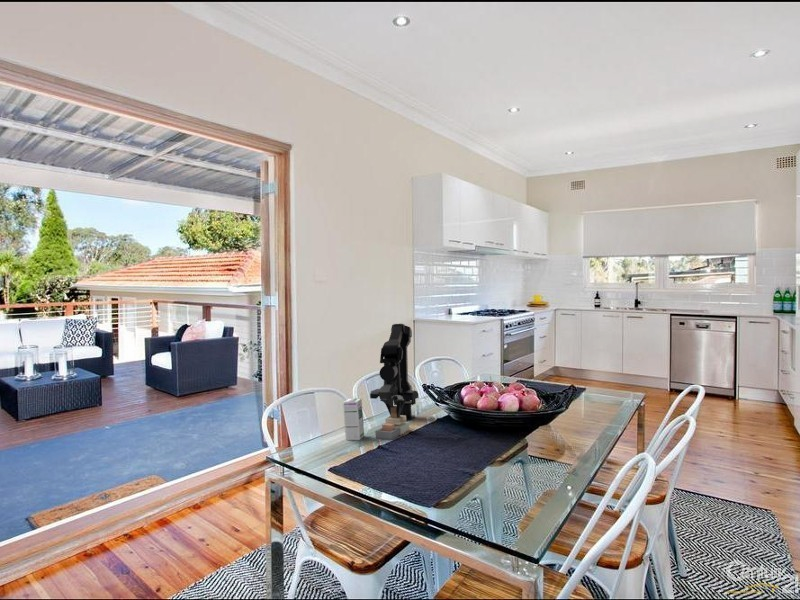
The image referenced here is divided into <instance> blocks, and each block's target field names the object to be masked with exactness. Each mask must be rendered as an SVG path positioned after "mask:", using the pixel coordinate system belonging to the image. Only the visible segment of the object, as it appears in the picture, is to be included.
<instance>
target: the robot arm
mask: <svg viewBox="0 0 800 600" xmlns="http://www.w3.org/2000/svg"><path fill="white" fill-rule="evenodd" d="M390 332H391V333H390V335H389V338H388V340H387V341H385V342H384V343H383V345H382V347H381V349H380V358H379V359H380V360H379V364H383V366H382V367H381V368H380V371H379V377H380V378H381V379H382V380H383V385H382V386H381V387H380V388H376V389H373V390H371V391H370V394H369V398H370V399H373V400H377V399H378V398H379V401H380V402H382V403H384V405H385V406H386V409H387V411H388V413H389V416H391V409H390V408H391V407H393V406H397V417H399V416H400V415H404V416H406V421H410V420H411V419H413V417H414V418H415V417H416V415H412V406H414V405H416V403H417V402H416V399H419V393H418V391H417V390H413V389H412V388H413V387H412V385H411V384H410V382H409V373H408V372H409V371H408V370H409V369H408V368H409V365H408V364H409V363H408V362H409V359H408V347H409V345H410V344H411V341H412V340H411V339H412V337H413V331H412V328H411V327H410V326H408V325H405V324H404V323H393V324H392V325H391V329H390Z"/></svg>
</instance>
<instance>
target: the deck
mask: <svg viewBox="0 0 800 600" xmlns="http://www.w3.org/2000/svg"><path fill="white" fill-rule="evenodd" d="M398 427H399V428H400V432H401V435H403V434H405V433H406V432H405V431H407V430H408V429H409V430H410V422H409V421H408V422H407V421H405V422H403V423H401V424H400V425H396V424H395V429H396V428H398ZM409 430H408V431H409ZM408 431H407V432H408ZM404 432H405V433H404ZM402 433H403V434H402Z"/></svg>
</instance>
